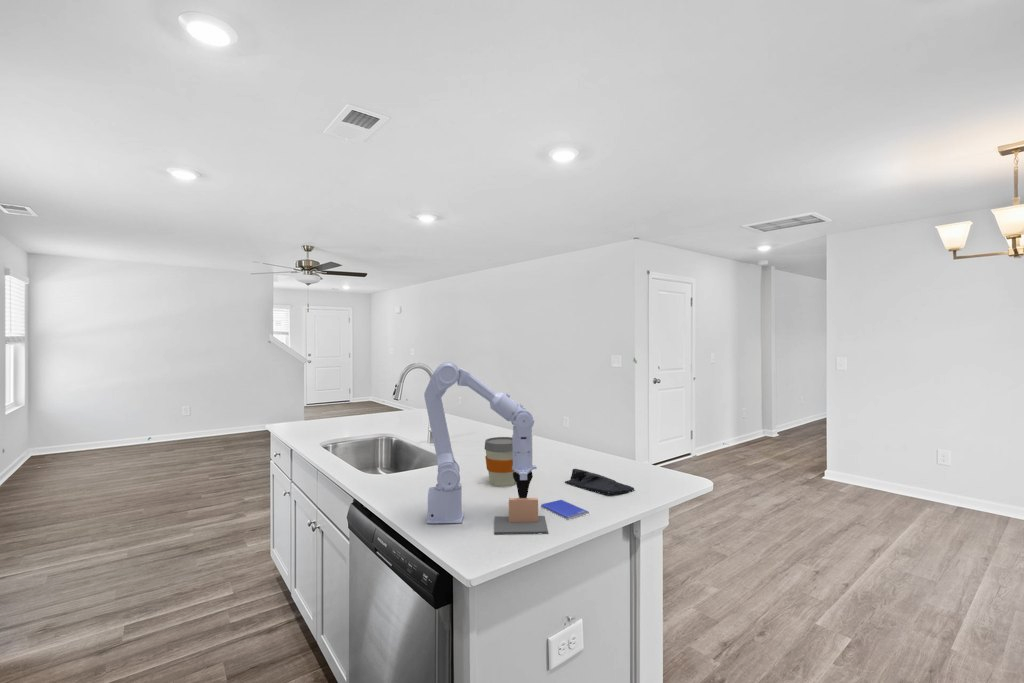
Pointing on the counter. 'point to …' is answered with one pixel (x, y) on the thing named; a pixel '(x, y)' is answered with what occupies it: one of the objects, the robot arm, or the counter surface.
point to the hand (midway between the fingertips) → (522, 498)
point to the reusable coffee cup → (500, 461)
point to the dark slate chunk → (596, 482)
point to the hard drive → (564, 509)
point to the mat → (519, 526)
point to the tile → (523, 509)
